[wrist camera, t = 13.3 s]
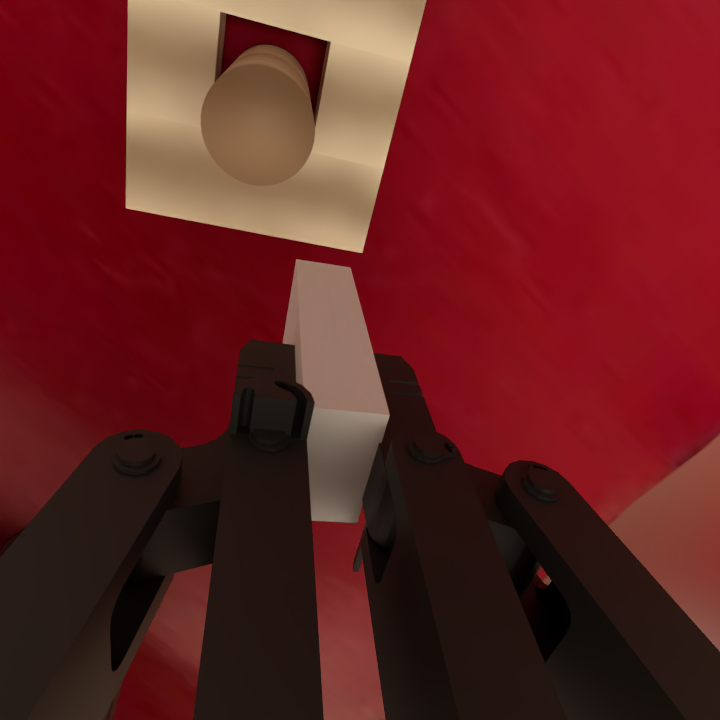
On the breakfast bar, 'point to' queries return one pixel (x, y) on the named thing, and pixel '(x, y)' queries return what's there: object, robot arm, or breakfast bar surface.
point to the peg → (259, 117)
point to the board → (332, 115)
